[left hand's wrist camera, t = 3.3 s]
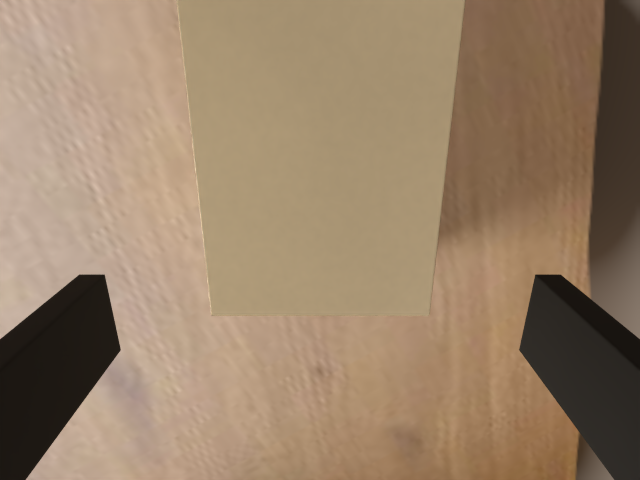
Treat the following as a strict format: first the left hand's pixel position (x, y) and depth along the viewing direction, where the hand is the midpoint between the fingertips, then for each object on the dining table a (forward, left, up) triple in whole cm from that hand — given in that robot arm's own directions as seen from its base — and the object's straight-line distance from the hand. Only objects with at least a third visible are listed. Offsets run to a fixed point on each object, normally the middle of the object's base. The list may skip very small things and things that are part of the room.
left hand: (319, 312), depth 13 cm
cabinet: (+5, 0, -15) cm, 16 cm away
